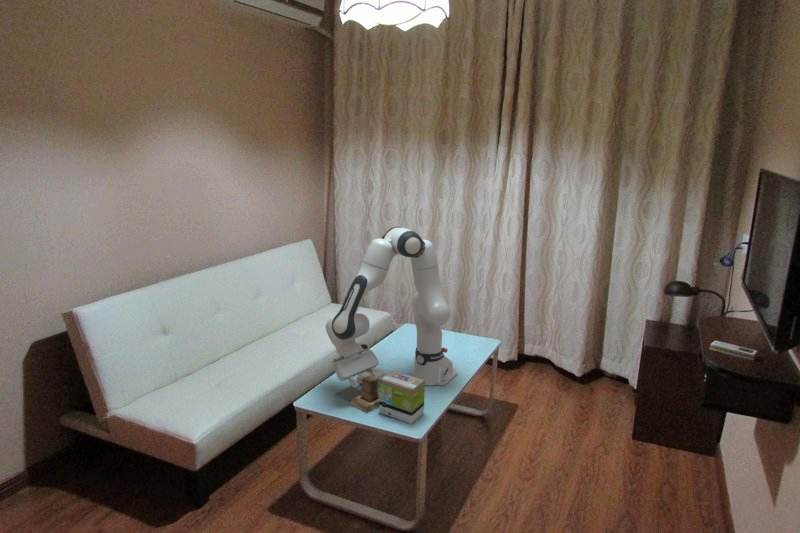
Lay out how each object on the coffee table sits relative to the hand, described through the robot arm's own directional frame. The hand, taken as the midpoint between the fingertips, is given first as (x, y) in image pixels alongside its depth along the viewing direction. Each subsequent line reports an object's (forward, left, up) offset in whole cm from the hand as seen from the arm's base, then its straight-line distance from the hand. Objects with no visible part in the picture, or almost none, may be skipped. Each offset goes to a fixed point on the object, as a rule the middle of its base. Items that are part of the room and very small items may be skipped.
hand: (366, 382), depth 210 cm
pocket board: (0, +2, -8) cm, 9 cm away
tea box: (-3, +17, -9) cm, 19 cm away
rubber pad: (0, -9, -8) cm, 13 cm away
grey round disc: (-15, -12, -9) cm, 21 cm away
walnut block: (0, +2, -8) cm, 9 cm away
